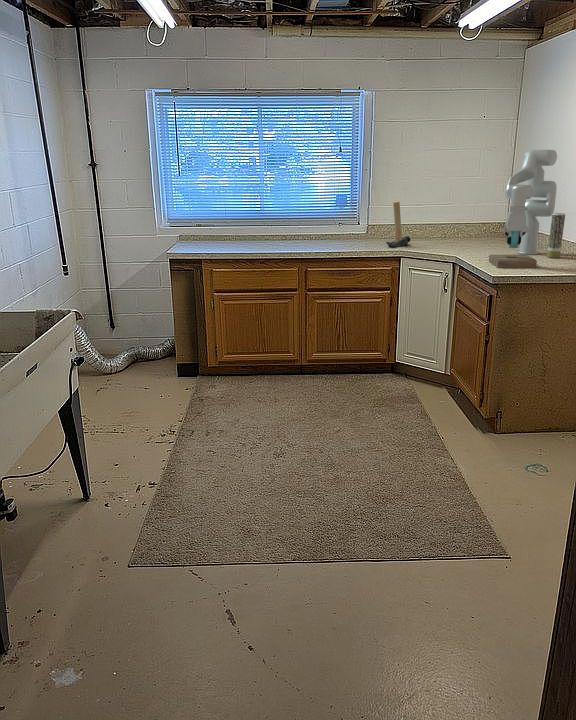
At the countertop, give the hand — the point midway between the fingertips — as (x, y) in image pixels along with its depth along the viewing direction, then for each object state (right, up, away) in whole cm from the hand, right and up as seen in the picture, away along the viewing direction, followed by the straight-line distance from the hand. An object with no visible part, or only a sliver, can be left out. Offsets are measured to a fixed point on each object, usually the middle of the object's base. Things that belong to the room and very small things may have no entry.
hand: (513, 244), depth 323 cm
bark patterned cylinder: (+32, -3, +24) cm, 40 cm away
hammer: (-48, +13, +77) cm, 92 cm away
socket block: (0, -11, +4) cm, 11 cm away
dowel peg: (0, -2, +1) cm, 2 cm away
